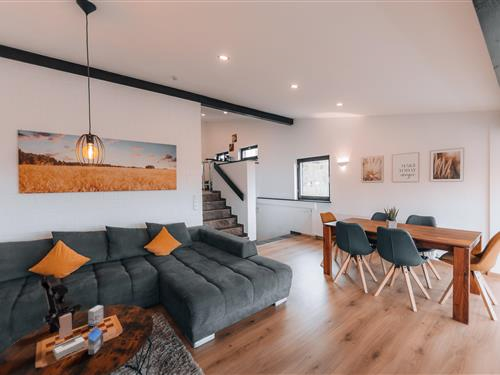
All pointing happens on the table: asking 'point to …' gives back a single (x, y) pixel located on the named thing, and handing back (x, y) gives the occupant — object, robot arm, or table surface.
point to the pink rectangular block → (65, 325)
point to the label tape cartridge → (95, 341)
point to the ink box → (95, 315)
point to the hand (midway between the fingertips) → (66, 325)
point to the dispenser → (68, 346)
